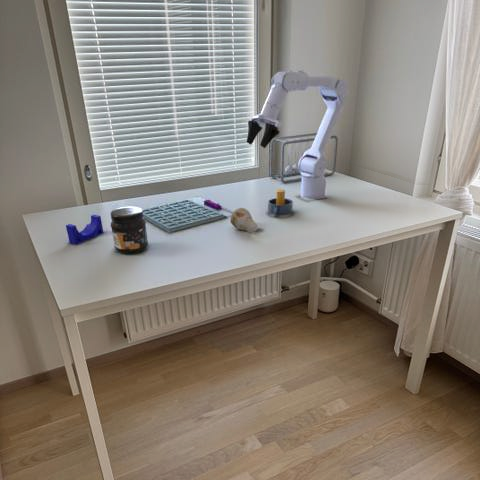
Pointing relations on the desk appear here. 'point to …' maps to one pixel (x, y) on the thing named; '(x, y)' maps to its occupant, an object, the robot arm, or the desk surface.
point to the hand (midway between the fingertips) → (255, 145)
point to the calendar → (183, 213)
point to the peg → (280, 197)
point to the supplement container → (129, 230)
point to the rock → (243, 220)
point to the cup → (280, 207)
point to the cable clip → (85, 230)
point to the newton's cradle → (295, 168)
